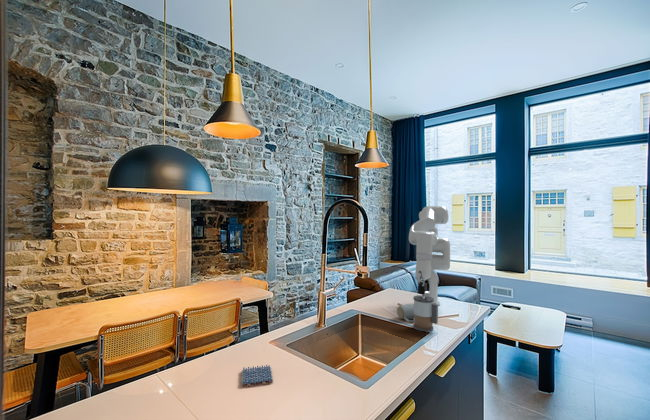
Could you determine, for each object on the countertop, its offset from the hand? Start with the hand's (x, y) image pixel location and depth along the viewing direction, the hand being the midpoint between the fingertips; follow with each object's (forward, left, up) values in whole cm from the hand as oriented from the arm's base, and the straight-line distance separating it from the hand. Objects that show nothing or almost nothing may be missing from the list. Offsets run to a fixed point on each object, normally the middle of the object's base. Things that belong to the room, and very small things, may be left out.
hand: (423, 292), depth 147 cm
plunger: (0, 0, -8) cm, 8 cm away
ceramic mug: (-6, -11, -18) cm, 22 cm away
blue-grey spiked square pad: (+82, -27, -19) cm, 88 cm away
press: (0, 0, -18) cm, 18 cm away
